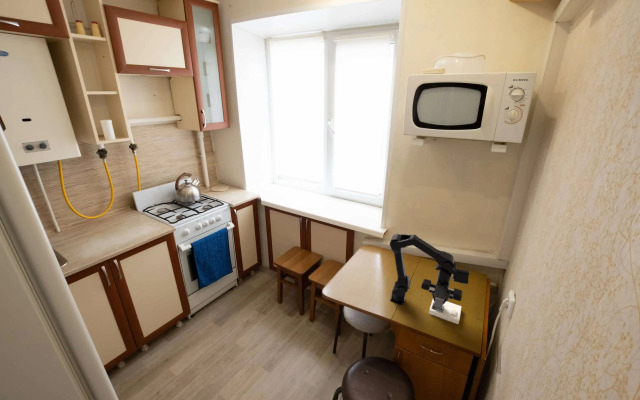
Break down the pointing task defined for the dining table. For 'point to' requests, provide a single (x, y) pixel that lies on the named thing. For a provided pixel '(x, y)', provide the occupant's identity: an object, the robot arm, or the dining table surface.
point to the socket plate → (446, 311)
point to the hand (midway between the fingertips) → (438, 302)
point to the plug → (438, 302)
